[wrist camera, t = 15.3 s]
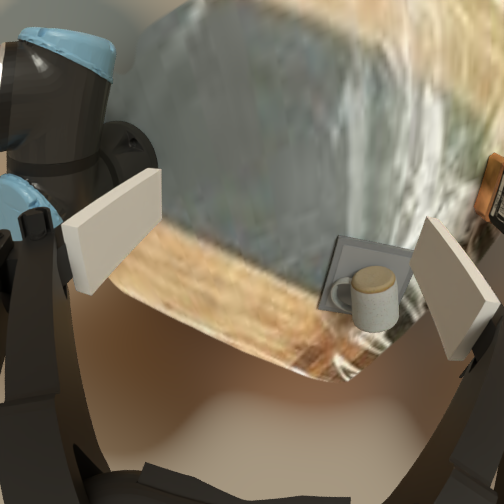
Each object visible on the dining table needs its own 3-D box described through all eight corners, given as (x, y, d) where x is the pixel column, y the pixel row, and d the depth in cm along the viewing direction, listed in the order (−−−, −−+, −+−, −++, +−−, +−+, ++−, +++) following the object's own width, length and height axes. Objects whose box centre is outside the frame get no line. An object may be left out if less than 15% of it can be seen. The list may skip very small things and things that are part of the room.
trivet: (318, 306, 52) (318, 309, 52) (338, 235, 45) (338, 237, 44) (390, 317, 51) (391, 320, 50) (419, 251, 44) (421, 254, 43)
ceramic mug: (391, 258, 44) (402, 287, 38) (394, 299, 48) (402, 330, 41) (326, 270, 48) (327, 300, 41) (334, 309, 51) (335, 341, 45)
